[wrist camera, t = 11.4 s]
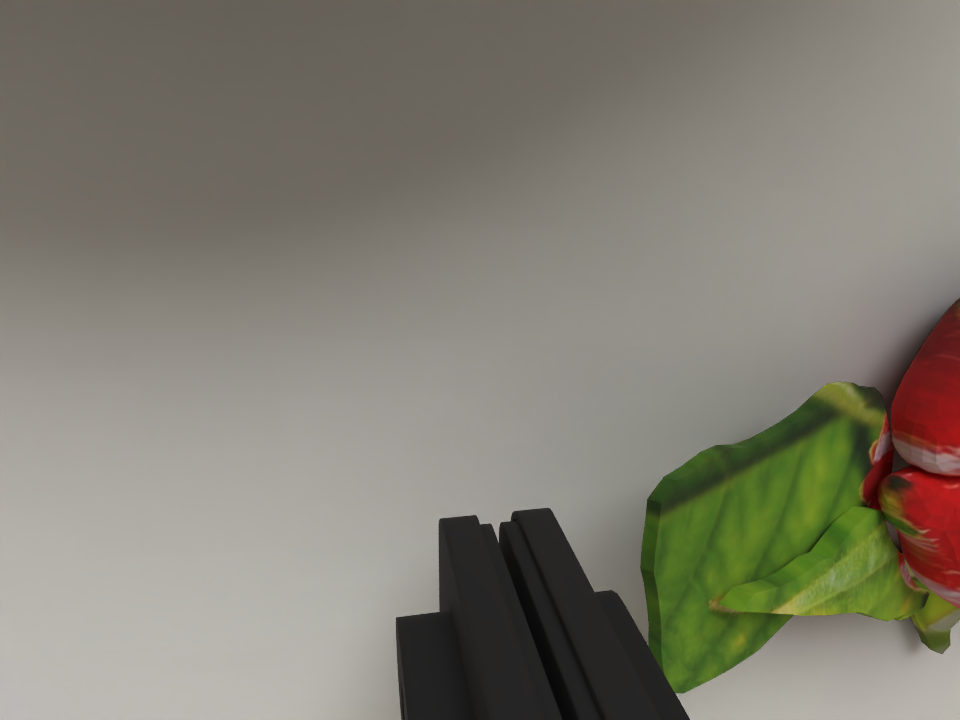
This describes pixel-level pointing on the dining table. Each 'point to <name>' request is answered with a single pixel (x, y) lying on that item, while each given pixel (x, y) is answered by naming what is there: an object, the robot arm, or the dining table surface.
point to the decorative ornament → (812, 522)
